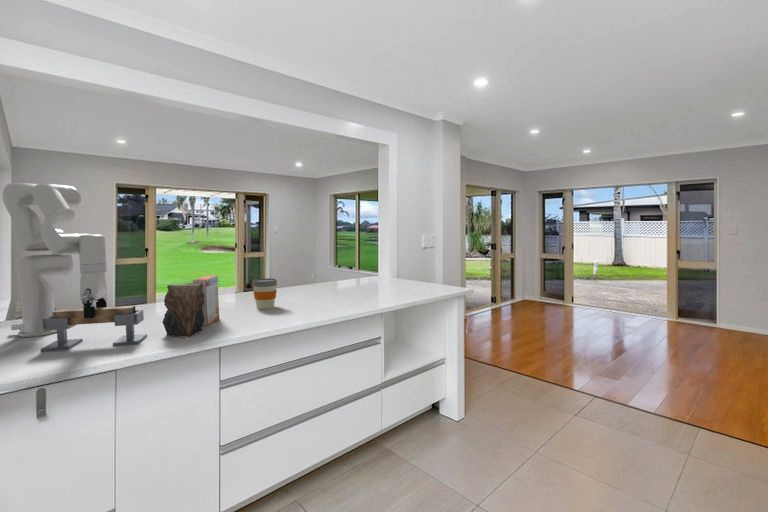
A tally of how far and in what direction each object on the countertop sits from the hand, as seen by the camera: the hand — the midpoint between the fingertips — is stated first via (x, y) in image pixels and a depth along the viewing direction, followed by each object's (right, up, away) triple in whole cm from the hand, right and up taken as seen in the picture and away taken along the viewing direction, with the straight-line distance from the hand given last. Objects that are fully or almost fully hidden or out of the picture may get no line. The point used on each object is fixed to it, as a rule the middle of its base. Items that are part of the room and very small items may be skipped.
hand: (95, 314), depth 133 cm
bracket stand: (0, -11, +1) cm, 11 cm away
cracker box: (+26, -9, +31) cm, 41 cm away
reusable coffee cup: (+41, -7, +64) cm, 77 cm away
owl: (+25, -10, +14) cm, 30 cm away
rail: (0, -3, 0) cm, 3 cm away
